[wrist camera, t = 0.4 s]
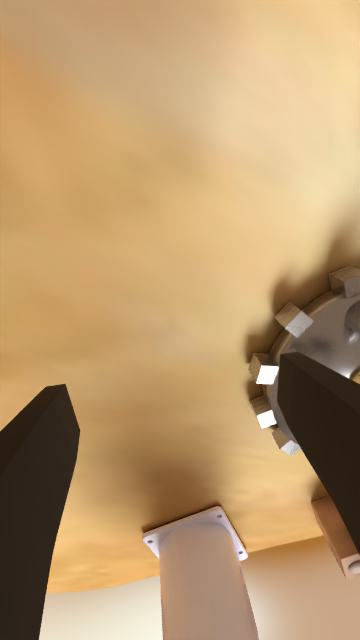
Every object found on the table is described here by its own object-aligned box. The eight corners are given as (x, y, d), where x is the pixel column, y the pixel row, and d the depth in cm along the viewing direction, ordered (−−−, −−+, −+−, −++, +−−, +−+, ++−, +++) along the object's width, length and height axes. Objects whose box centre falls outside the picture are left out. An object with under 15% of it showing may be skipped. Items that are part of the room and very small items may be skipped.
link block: (368, 480, 29) (412, 538, 24) (372, 502, 31) (413, 560, 26) (310, 501, 29) (342, 562, 25) (317, 522, 31) (348, 583, 26)
